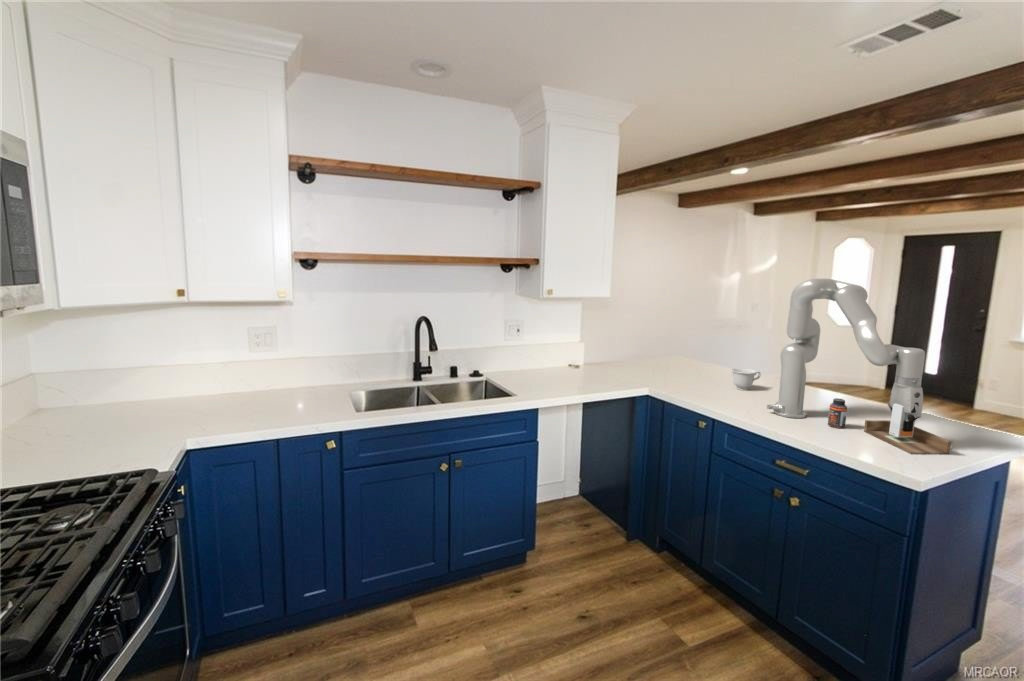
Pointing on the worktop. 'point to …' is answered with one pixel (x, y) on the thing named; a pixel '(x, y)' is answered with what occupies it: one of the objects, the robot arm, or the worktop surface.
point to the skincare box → (898, 422)
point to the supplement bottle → (837, 413)
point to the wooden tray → (909, 439)
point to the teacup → (744, 377)
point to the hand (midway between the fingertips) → (901, 428)
